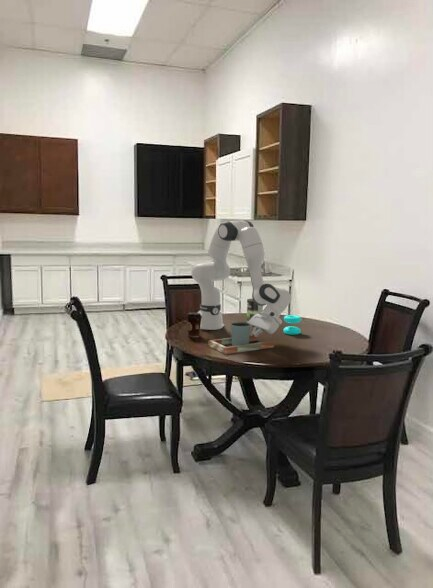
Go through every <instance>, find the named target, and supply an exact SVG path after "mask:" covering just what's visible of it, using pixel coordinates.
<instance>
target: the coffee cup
mask: <svg viewBox="0 0 433 588" xmlns="http://www.w3.org/2000/svg"><path fill="white" fill-rule="evenodd" d="M185 317H186V319H187V320H186V325H187V333H188V334H187V335H188V337H190V338H200V336H201V335H200V333H201V329H200V325H201V318H202V316H201V314H200V313H198V312H193V311H192V312H188V313H187V314H186V316H185Z"/></svg>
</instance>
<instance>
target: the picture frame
mask: <svg viewBox="0 0 433 588" xmlns="http://www.w3.org/2000/svg"><path fill="white" fill-rule="evenodd" d="M249 335H250V337H249V342H253V343H249V344H245V345H238V346H232V337H226V338H225V337H224V338H218V339H217V338H216V339H210V340H208V344H207V345H208V347H210V348H211V349H213V350H216V351H218V352H220V353H223V354H224V355H230V354H236V353H237V354H238V353H243V352H251V351H256V350H257V351H258V350H263V349H264V350H265V349H271V348H274V347H275V341H274V340H270V341H261V342H255V341H258V336H257V337H255V336H252V334H249ZM254 342H255V343H254ZM225 345H231V346H225Z"/></svg>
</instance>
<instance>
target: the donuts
mask: <svg viewBox="0 0 433 588" xmlns="http://www.w3.org/2000/svg"><path fill="white" fill-rule="evenodd" d="M283 320H284V322H285V323H288V324H299V323H300V322H302V317H301V316H299V315H295V314H287V315H284V317H283ZM301 330H302V329H301V328H300V327H298V326H294V325H293V326H290V325H289V326H285V327H284V328H283V334H286V335H289V336H290V335H291V336H297V335H300V334H301V332H302V331H301Z"/></svg>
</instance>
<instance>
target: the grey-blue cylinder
mask: <svg viewBox="0 0 433 588" xmlns="http://www.w3.org/2000/svg"><path fill="white" fill-rule="evenodd" d="M250 331H251V327H250V324H249V323H248V322H247V321H246V322H243V321H239V322H237V321H236V322H235V321H234V322H231V323H230V333H231V338H232V344H231V346H238V345H245V344H250V341H249V337H250V335H251V332H250Z"/></svg>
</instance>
